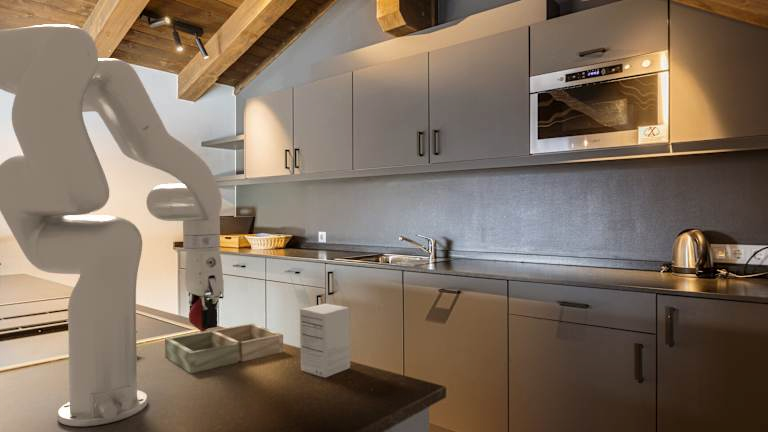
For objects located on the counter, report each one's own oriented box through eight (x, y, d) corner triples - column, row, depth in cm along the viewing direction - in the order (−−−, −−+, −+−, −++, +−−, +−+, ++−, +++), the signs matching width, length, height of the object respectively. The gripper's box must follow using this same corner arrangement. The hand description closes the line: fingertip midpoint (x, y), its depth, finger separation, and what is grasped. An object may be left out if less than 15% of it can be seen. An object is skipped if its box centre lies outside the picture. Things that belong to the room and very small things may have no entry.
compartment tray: (283, 352, 110) (283, 334, 110) (190, 373, 96) (190, 353, 96) (252, 339, 121) (252, 323, 121) (165, 356, 107) (164, 338, 107)
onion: (222, 328, 108) (221, 292, 108) (210, 335, 102) (209, 297, 102) (197, 327, 109) (196, 292, 109) (184, 334, 103) (183, 297, 103)
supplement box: (325, 361, 103) (325, 302, 103) (351, 368, 99) (350, 307, 98) (299, 370, 98) (298, 308, 97) (324, 378, 93) (324, 313, 93)
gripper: (235, 243, 101) (237, 329, 102) (203, 239, 114) (204, 315, 114) (200, 246, 96) (201, 336, 97) (170, 241, 109) (171, 321, 109)
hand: (203, 324), depth 106 cm, fingers closed on onion, 5 cm apart
